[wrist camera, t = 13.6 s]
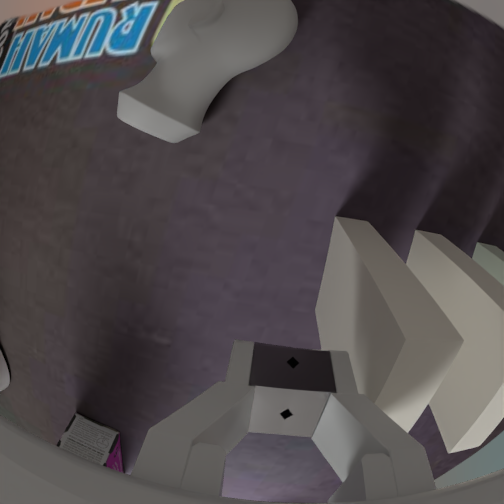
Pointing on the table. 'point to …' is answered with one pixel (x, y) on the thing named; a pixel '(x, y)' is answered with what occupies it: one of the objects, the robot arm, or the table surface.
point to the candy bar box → (93, 442)
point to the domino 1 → (383, 322)
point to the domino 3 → (490, 260)
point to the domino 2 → (475, 340)
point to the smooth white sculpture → (203, 60)
